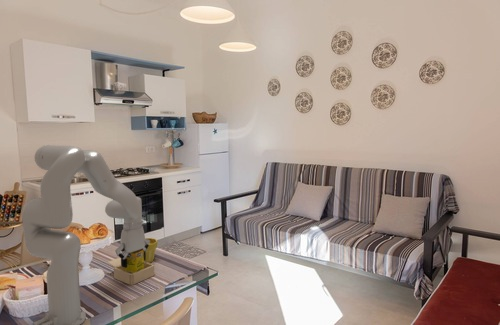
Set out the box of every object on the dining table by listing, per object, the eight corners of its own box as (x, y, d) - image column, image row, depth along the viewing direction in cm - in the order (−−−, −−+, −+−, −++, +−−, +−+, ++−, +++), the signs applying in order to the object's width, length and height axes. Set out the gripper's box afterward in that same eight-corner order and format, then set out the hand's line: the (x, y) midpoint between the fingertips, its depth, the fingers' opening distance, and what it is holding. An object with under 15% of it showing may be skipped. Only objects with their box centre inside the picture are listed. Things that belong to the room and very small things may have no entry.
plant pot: (161, 260, 172) (161, 241, 171) (142, 266, 165) (141, 246, 163) (151, 254, 179) (150, 236, 178) (132, 260, 172) (131, 240, 171)
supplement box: (137, 278, 150) (136, 254, 149) (125, 277, 152) (124, 253, 151) (144, 273, 156) (144, 249, 155) (132, 271, 158) (132, 248, 156)
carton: (131, 286, 145) (131, 275, 144) (113, 278, 152) (112, 268, 151) (156, 274, 156) (156, 264, 155) (138, 268, 163) (137, 258, 162)
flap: (107, 261, 155) (107, 262, 155) (115, 267, 152) (115, 267, 152) (127, 254, 164) (127, 255, 164) (135, 259, 161) (135, 259, 161)
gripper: (143, 219, 160) (144, 255, 162) (109, 228, 146) (111, 267, 148) (154, 222, 156) (154, 259, 158) (121, 231, 142) (122, 272, 144)
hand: (133, 263), depth 153 cm, fingers open, 9 cm apart
